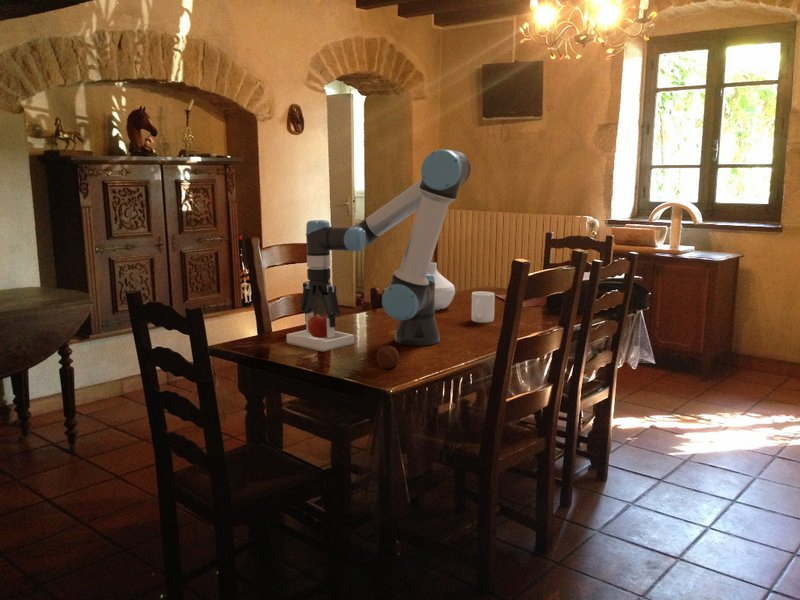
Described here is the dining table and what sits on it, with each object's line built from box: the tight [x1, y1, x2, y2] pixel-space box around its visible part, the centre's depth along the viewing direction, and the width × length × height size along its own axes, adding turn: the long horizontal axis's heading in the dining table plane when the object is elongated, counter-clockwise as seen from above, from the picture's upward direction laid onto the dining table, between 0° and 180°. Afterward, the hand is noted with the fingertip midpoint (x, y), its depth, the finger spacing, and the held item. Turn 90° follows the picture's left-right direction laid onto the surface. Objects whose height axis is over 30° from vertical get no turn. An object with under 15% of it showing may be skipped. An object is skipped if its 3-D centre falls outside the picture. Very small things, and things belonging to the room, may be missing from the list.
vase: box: [427, 262, 456, 311], centre depth 294 cm, size 18×18×19 cm
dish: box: [286, 329, 355, 352], centre depth 234 cm, size 18×14×3 cm
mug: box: [471, 290, 496, 324], centre depth 268 cm, size 9×12×11 cm
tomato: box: [308, 314, 336, 338], centre depth 234 cm, size 9×9×8 cm
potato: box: [376, 344, 400, 370], centre depth 206 cm, size 7×9×6 cm
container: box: [304, 280, 328, 330], centre depth 250 cm, size 9×9×18 cm
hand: (320, 334), depth 234 cm, fingers open, 9 cm apart
